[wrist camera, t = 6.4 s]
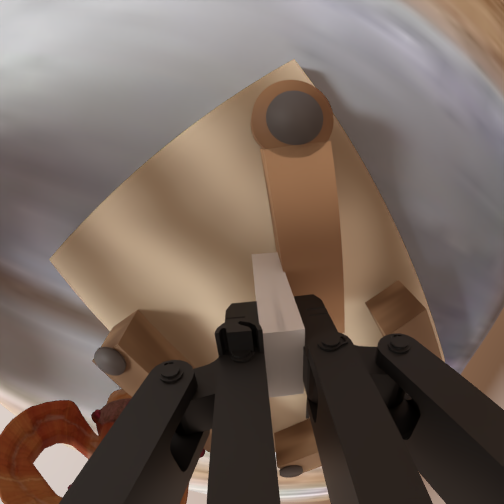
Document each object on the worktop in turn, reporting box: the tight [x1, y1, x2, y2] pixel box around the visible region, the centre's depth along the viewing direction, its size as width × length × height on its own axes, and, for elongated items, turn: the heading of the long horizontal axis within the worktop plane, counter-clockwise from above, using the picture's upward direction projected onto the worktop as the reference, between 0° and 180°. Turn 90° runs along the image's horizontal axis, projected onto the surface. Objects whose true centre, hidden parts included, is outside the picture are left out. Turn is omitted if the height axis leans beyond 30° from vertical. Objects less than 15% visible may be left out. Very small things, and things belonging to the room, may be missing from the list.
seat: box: [49, 59, 445, 477], centre depth 16 cm, size 18×24×5 cm
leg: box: [251, 80, 345, 333], centre depth 13 cm, size 11×3×4 cm, turn 10°
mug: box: [0, 389, 205, 504], centre depth 14 cm, size 15×8×15 cm, turn 60°
